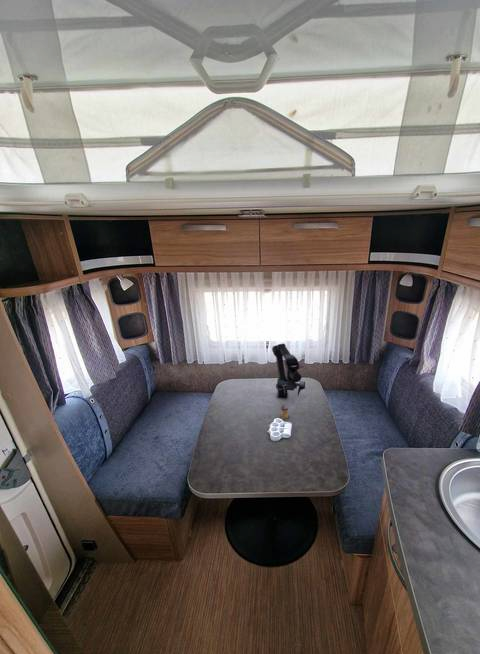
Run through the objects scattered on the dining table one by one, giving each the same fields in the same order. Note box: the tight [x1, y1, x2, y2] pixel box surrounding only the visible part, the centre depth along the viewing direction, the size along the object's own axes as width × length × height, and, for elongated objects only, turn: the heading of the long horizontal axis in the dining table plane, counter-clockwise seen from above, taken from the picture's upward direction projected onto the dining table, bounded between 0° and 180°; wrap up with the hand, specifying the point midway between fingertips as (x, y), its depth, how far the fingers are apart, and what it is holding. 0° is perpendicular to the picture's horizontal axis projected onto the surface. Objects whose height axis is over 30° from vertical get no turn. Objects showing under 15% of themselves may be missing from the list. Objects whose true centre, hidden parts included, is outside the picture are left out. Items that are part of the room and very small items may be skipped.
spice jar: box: [280, 404, 289, 420], centre depth 187 cm, size 5×5×8 cm
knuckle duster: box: [266, 417, 293, 442], centre depth 175 cm, size 3×18×15 cm
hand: (291, 395), depth 194 cm, fingers open, 9 cm apart
